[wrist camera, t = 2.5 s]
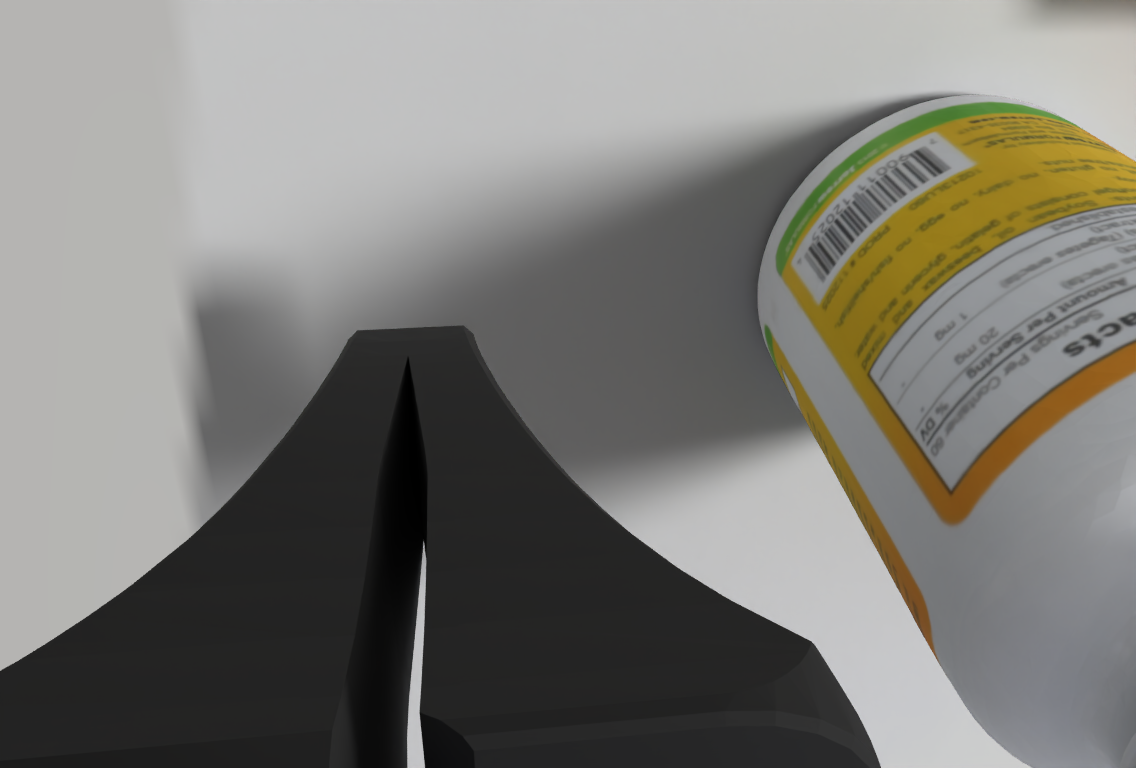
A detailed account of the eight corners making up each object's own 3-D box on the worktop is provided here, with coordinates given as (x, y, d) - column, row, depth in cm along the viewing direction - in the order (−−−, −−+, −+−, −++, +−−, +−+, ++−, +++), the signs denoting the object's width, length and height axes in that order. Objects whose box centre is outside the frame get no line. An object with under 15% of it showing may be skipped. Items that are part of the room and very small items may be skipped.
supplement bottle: (1034, 401, 17) (1593, 1019, 9) (727, 413, 16) (1030, 1096, 8) (1151, 84, 14) (2156, 588, 6) (780, 83, 13) (1342, 652, 5)
